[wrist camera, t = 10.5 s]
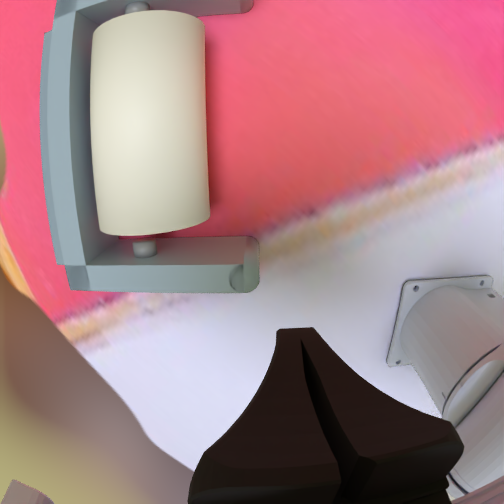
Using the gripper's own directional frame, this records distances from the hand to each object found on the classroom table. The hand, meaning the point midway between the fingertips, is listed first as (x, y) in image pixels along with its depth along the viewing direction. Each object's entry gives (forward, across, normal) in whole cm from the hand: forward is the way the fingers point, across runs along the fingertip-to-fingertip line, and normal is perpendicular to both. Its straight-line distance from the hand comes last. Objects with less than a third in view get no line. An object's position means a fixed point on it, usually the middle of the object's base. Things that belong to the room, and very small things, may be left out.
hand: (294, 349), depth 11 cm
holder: (+11, +9, -9) cm, 16 cm away
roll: (+8, +7, -9) cm, 14 cm away
